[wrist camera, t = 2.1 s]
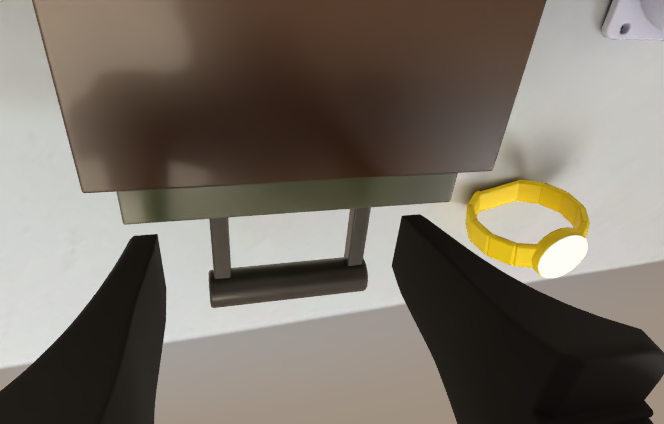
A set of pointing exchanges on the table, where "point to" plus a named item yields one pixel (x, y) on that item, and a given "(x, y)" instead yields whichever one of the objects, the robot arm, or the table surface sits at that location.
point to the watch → (551, 252)
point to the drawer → (277, 199)
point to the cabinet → (283, 87)
